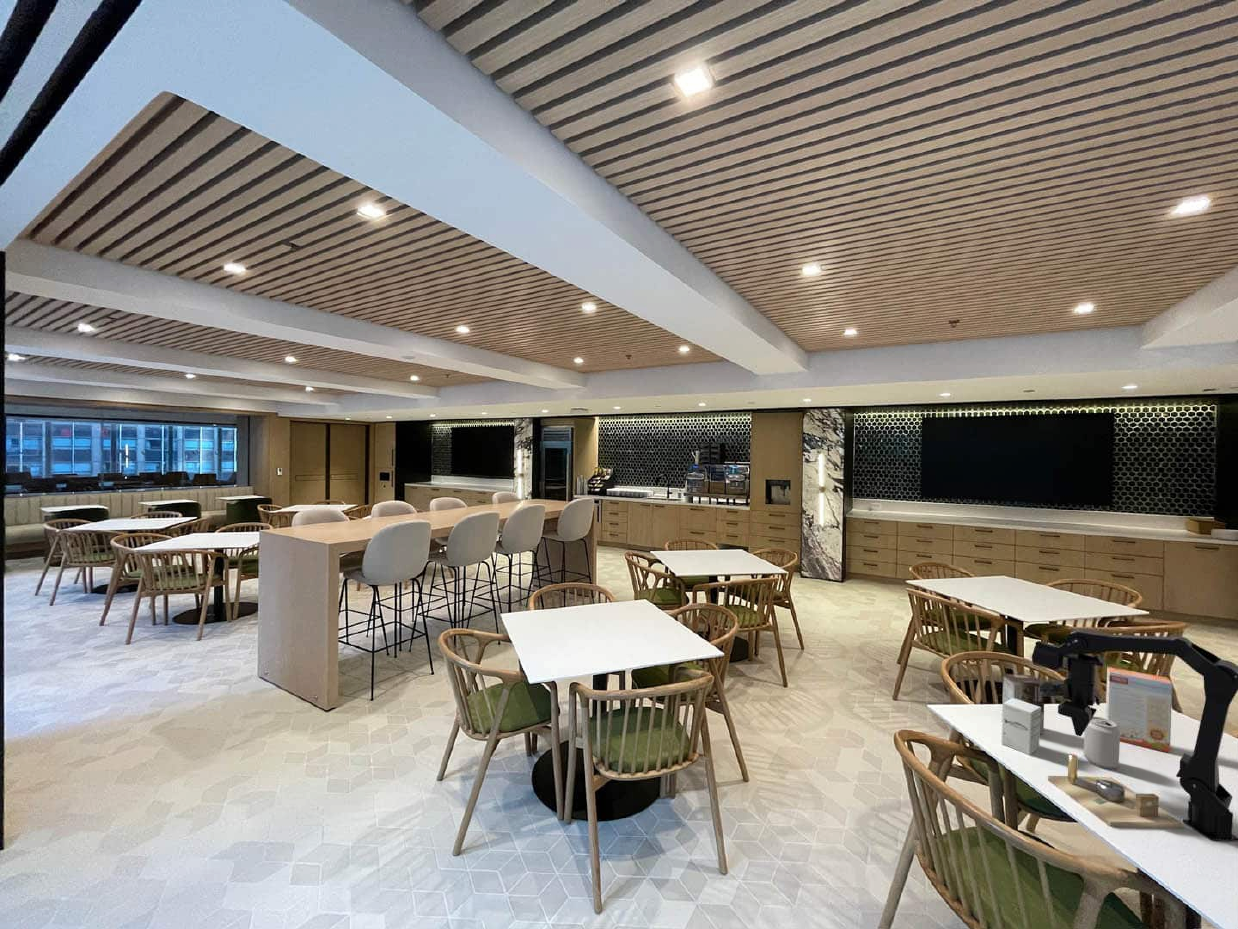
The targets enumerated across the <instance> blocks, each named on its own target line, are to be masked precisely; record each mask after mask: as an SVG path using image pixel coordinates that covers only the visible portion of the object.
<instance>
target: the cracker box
mask: <svg viewBox="0 0 1238 929" xmlns="http://www.w3.org/2000/svg"><path fill="white" fill-rule="evenodd" d="M1106 669H1107V670H1106V693H1105V695H1106V697H1105V698H1106V701H1105V719H1108V720H1110V721H1113V722H1114V723H1116V724H1117V728H1118V729H1119V730H1120V742H1123V743H1127V744H1132V745H1136V746H1140V747H1143V748H1148V749H1151V750H1152V749H1153V750H1157V751H1160V752H1165V753H1168V754H1169V753H1171V739H1172V738H1171V735H1172V734H1171V733H1172V731H1171V730H1172V706H1173V705H1172V703H1173V702H1172V701H1173V700H1172V698H1173V683H1172V682H1171V680H1170V679H1169V678H1168V677H1166V676H1160V675H1155V674H1149V673H1143V672H1139V671H1138V672H1137V671H1132V670H1128V669H1127V670H1126V669H1121V668H1117V667H1115V668H1114V667H1110V666H1107V667H1106Z"/></svg>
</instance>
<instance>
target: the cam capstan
mask: <svg viewBox="0 0 1238 929" xmlns="http://www.w3.org/2000/svg"><path fill="white" fill-rule="evenodd" d="M1078 759H1079V758H1078V755H1076V754H1075V753H1069V754H1068V765H1067V766H1068V767H1067V768H1068V769H1067V776H1068V781H1069V782H1071V783H1074V784H1078V785H1080V786H1083V787H1086V788H1088V789H1091V790H1094V791H1096V793H1097V794H1099V795H1100V796H1101V797H1103V798H1105V799H1107V800H1109V801H1112V802H1116V803H1123V802H1124V801H1125V789H1124V788H1123V787H1122V786H1120V785H1118V784H1116V783H1114V782H1111V781H1107V780H1097V781H1096V784H1093V783H1091V782H1088V781H1085V780H1082V779H1080V778H1077V776H1078V762H1079V760H1078Z"/></svg>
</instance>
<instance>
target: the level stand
mask: <svg viewBox="0 0 1238 929" xmlns="http://www.w3.org/2000/svg"><path fill="white" fill-rule="evenodd" d="M1077 778H1080V779H1082V780H1085V781H1088V782H1091V783H1093V784H1096V781H1097V780H1107V781H1111V782H1114V783H1116V784H1118V785H1120V786H1122V787H1123V788H1124V789H1125V801H1124V802H1123V803H1116V802H1112V801H1109V800H1107V799H1105V798H1103V797H1101V796H1100V795H1099V794H1097V793H1096V791H1094V790H1091V789H1088V788H1086V787H1083V786H1080V785H1078V784H1074V783H1071V782H1069V781H1068V775H1047V781H1048V782H1050V784H1052V785H1053V786H1054V787H1056V786H1057V789H1060V791H1062V792H1063V793H1064V792H1065V794H1066V796H1069V797H1070V798H1071V799H1072V800H1074V801H1075V802H1076V803H1078V804H1079V803H1080V804H1079V805H1080V806H1082V807H1083V808H1085V809H1086V810H1087V811H1089V812H1090V813H1091V814H1092V815H1094V816H1096V818H1098V819H1099V820H1101V821H1102V822H1103V823H1105V824H1106V825H1108V826H1109V827H1114V828H1116V827H1117V828H1118V827H1120V828H1121V827H1122V828H1168V829H1169V828H1173V829H1175V828H1176V829H1181V828H1183V821H1180V820H1179V819H1177V818H1176V817H1175V816H1172V815H1171V814H1169V813H1168V812H1167V811H1165V810H1163V809H1162V808H1160V807H1159V806H1160V805H1159V802H1160V800H1159V799H1160V797H1159V796H1158V795H1157V794H1155V793H1138V792H1135V791H1133V790H1132V789H1130V788H1129V787H1127V786H1126V785H1124V784H1123V783H1121V782H1120V781H1118V780H1116V779H1115V778H1114V777H1112V776H1084V775H1083V776H1081V775H1079V776H1078V775H1077Z"/></svg>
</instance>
